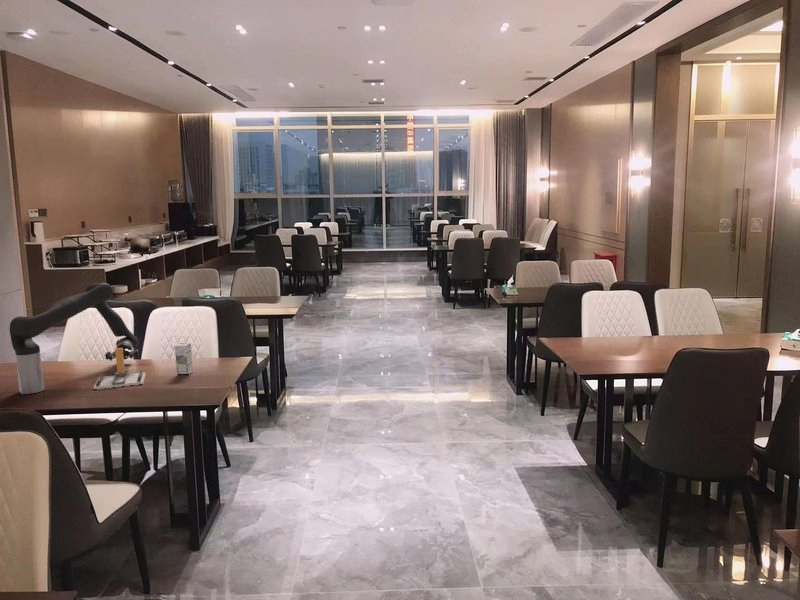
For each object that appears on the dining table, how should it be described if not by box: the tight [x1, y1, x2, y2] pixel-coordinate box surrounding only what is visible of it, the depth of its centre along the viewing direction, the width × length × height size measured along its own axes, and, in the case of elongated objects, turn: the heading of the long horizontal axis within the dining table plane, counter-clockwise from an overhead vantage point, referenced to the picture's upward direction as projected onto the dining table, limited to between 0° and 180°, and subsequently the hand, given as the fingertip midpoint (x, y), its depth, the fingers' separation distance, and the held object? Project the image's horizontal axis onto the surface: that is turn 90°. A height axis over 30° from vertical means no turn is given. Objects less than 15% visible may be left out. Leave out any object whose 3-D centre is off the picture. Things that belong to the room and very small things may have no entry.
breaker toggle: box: [114, 347, 129, 375], centre depth 293 cm, size 5×3×12 cm, turn 108°
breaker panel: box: [93, 370, 146, 390], centre depth 289 cm, size 20×18×3 cm
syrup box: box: [174, 342, 194, 375], centre depth 299 cm, size 6×6×14 cm
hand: (120, 357), depth 296 cm, fingers open, 8 cm apart
